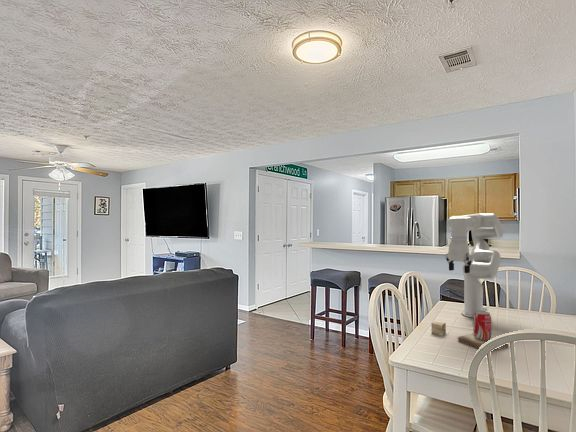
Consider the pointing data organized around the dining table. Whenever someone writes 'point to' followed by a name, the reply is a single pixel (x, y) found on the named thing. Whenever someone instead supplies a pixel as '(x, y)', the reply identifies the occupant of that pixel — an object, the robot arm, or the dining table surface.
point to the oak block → (438, 327)
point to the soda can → (482, 325)
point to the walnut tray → (474, 341)
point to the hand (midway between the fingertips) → (459, 271)
